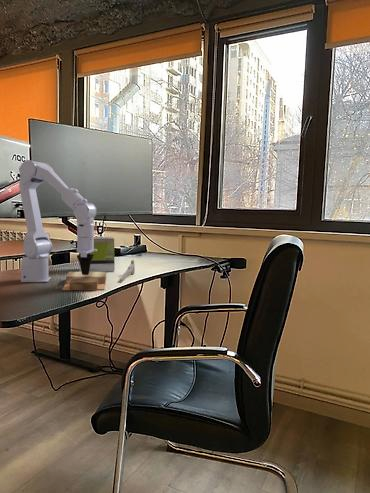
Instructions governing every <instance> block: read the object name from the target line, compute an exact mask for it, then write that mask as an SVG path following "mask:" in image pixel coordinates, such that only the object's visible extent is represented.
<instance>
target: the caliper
mask: <svg viewBox="0 0 370 493" xmlns="http://www.w3.org/2000/svg"><path fill="white" fill-rule="evenodd" d="M135 268H136V265H135V260H134V259H132V260H131V261H130V264H129V265H128V267H127V269H126V270H125V272H123V274H122V275H121V276H120V278H119V279H118V280H119V281H118V284H121V283H123V282H124V281H125V279H127V277H128V275H135V272H136V271H135Z"/></svg>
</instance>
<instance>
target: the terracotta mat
mask: <svg viewBox="0 0 370 493" xmlns="http://www.w3.org/2000/svg"><path fill="white" fill-rule="evenodd" d="M105 288H106V283H105V284H98V287H97V290H96V291H105ZM61 289H62V290H61V291H71V290H70V284H66V283H65V284H64V285H63V288H61Z"/></svg>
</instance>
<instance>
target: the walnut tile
mask: <svg viewBox="0 0 370 493" xmlns="http://www.w3.org/2000/svg"><path fill="white" fill-rule="evenodd" d="M97 287H98V279H71V281H70V290H69V291H98V290H97Z"/></svg>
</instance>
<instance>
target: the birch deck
mask: <svg viewBox="0 0 370 493" xmlns="http://www.w3.org/2000/svg"><path fill="white" fill-rule="evenodd" d="M71 279H98V284H105V285H106V283H107V271H104V272H89V274H88V275H82V272H80V271H68V273H67V274H66V276H65V284H70V281H71Z"/></svg>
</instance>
